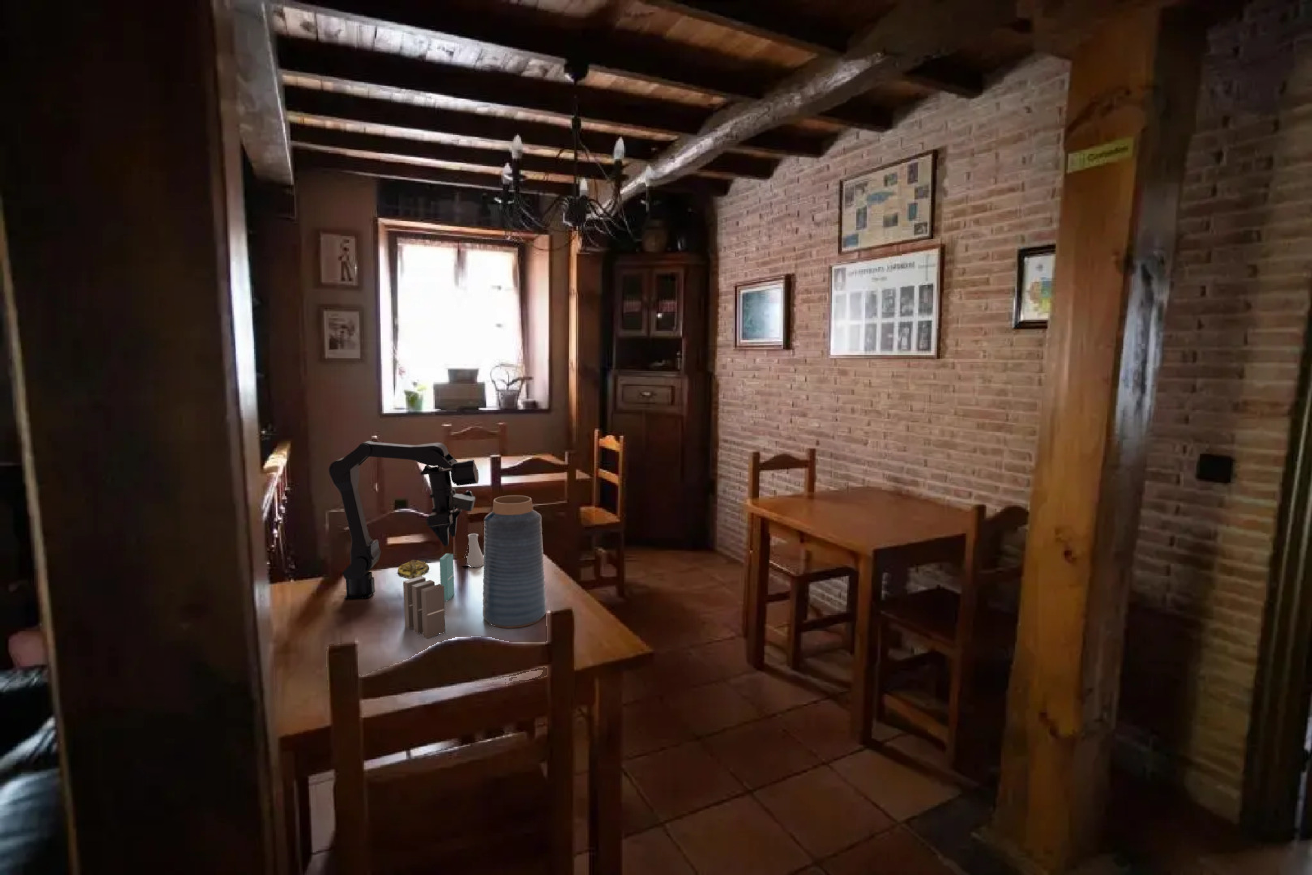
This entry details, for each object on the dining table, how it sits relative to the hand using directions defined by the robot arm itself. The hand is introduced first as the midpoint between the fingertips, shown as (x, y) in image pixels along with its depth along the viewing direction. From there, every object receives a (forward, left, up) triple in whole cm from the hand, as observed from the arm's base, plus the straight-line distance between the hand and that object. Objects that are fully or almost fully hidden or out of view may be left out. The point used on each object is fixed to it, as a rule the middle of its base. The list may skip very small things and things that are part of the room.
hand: (450, 541), depth 186 cm
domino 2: (-2, -24, -15) cm, 29 cm away
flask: (+3, +25, -16) cm, 29 cm away
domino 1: (-5, -21, -15) cm, 27 cm away
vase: (+20, -18, -16) cm, 31 cm away
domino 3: (+1, -27, -15) cm, 32 cm away
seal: (-16, +21, -16) cm, 30 cm away
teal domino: (0, -3, -15) cm, 16 cm away
